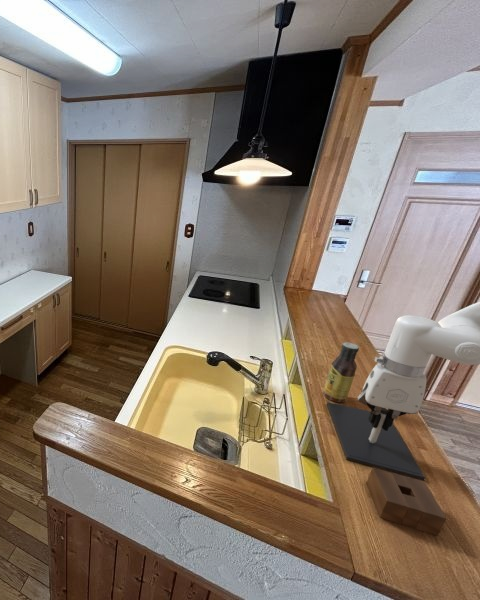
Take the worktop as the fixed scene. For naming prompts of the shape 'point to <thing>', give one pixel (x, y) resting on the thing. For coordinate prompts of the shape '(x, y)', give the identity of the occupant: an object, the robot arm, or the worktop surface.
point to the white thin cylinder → (377, 430)
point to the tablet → (379, 454)
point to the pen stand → (405, 501)
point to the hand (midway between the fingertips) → (378, 425)
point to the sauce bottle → (341, 374)
